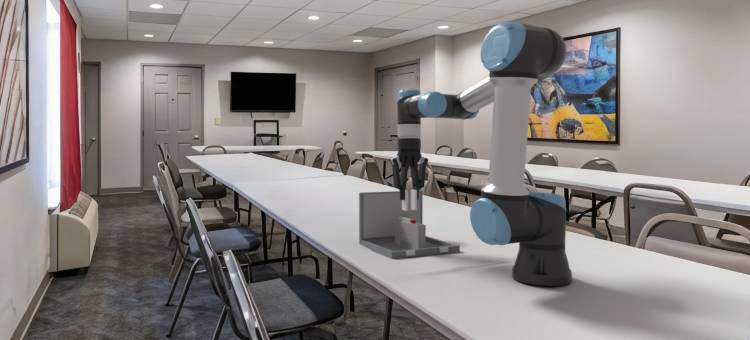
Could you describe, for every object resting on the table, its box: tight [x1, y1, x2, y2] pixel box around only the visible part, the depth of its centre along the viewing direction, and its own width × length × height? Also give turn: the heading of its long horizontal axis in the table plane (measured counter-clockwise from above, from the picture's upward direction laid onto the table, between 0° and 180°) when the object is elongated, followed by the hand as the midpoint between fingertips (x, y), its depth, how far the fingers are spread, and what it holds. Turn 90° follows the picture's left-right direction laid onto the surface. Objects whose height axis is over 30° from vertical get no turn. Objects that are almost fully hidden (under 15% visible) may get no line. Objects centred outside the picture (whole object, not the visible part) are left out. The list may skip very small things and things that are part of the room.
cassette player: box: [394, 217, 427, 250], centre depth 166 cm, size 16×3×10 cm, turn 26°
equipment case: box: [358, 189, 461, 260], centre depth 167 cm, size 24×24×18 cm
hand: (409, 209), depth 166 cm, fingers open, 3 cm apart
